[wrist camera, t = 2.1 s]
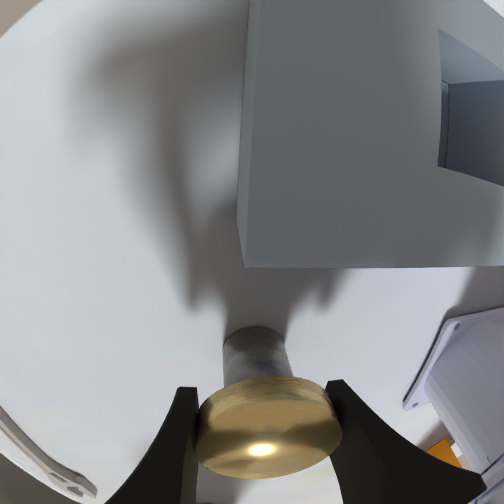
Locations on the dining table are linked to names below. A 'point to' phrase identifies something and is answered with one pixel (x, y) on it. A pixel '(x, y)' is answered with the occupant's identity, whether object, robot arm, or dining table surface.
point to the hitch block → (371, 135)
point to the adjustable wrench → (46, 461)
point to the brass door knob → (264, 413)
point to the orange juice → (444, 453)
